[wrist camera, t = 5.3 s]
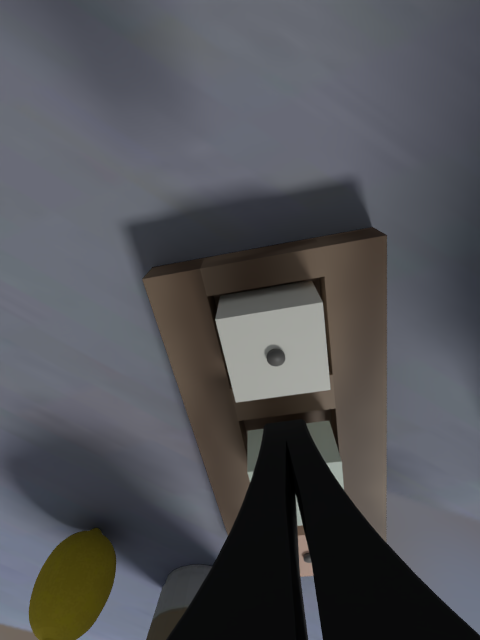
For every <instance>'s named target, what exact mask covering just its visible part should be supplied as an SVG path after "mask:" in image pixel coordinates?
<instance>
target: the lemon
mask: <svg viewBox="0 0 480 640" xmlns="http://www.w3.org/2000/svg"><path fill="white" fill-rule="evenodd" d="M115 572H116V555H115V551H114V548H113V545H112V544H111V542H110V541H109V539H108V538H107V537H105V536H104V535H103V534H102V532H101V530H100V529H98V528H94V529H92V530H90V531H82V532H78V533H75V534H73V535H71V536H69V537H68V538H66V539H65V540H64V541H62V542H61V543H60V544H59V545H58V546H57V547H56V548H55V549H54V550H53V552H52V553H51V554H50V556H49V557H48V559H47V560H46V562H45V563H44V565H43V567H42V569H41V571H40V573H39V575H38V577H37V580H36V582H35V585H34V588H33V591H32V595H31V600H30V606H29V621H30V625H31V628H32V630H33V633H34V634H35V636H36V637H37V638H38V639H39V640H76V639H78V638H79V637H81V636H82V635H83V634H84V633H86V632H87V631H88V630H89V629H90V628H91V626H92V625H93V624H94V622H95V621H96V619H97V618H98V616H99V615H100V613H101V611H102V609H103V607H104V605H105V603H106V601H107V599H108V597H109V595H110V592H111V589H112V586H113V583H114V578H115Z"/></svg>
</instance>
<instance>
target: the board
mask: <svg viewBox="0 0 480 640" xmlns="http://www.w3.org/2000/svg"><path fill="white" fill-rule="evenodd" d="M142 280H143V283H144V286H145V289H146V292H147V295H148V298H149V301H150V304H151V307H152V310H153V313H154V316H155V319H156V322H157V325H158V328H159V331H160V334H161V337H162V340H163V342H164V345H165V348H166V351H167V354H168V357H169V360H170V363H171V366H172V369H173V372H174V375H175V378H176V381H177V384H178V387H179V390H180V393H181V396H182V399H183V402H184V405H185V408H186V411H187V414H188V417H189V420H190V423H191V426H192V429H193V432H194V435H195V438H196V441H197V444H198V447H199V450H200V453H201V456H202V459H203V462H204V465H205V468H206V471H207V474H208V477H209V480H210V483H211V486H212V489H213V492H214V495H215V498H216V501H217V504H218V507H219V510H220V513H221V516H222V519H223V522H224V525H225V528H226V531H227V534H228V535H229V533H230V531H231V529H232V526H233V524H234V522H235V520H236V518H237V515H238V513H239V511H240V508H241V506H242V503H243V501H244V498H245V495H246V492H247V490H248V487H249V484H250V480H249V476H248V473H247V444H248V431H249V430H257V429H263V428H264V426H265V425H266V424H267V423H275V422H283V421H291V420H299V419H302V420H304V421H305V422H306V423H313V422H321V421H330V424H331V428H332V431H333V434H334V438H335V441H336V444H337V448H338V451H339V454H340V457H341V461H342V471H343V483H344V491H345V492H346V494H347V495H348V496H349V498H350V499H351V500H352V502H353V503H354V504H355V506H356V507H357V508H358V510H359V511H360V512H361V513H362V515H363V516H364V517H365V518H366V520H367V521H368V522H369V523H370V524H371V526H372V527H373V528H374V529H375V530H376V532H377V533H378V534H379V535H380V536H381V537H382V539H383V540H384V541H385V542H386V433H387V235H385V234H384V233H382V232H380V231H378V230H377V229H375V228H373V227H371V228H365V229H360V230H354V231H349V232H343V233H338V234H332V235H327V236H321V237H316V238H310V239H305V240H299V241H294V242H288V243H283V244H277V245H272V246H267V247H261V248H256V249H250V250H245V251H239V252H234V253H228V254H223V255H217V256H212V257H206V258H201V259H195V260H190V261H184V262H179V263H173V264H168V265H162V266H157V267H152V269H151V270H150V271H149V272H148V273H147V274H146V275H145V277H144V278H143V279H142ZM310 280H312V282H313V284H314V286H315V288H316V290H317V292H318V294H319V296H320V298H321V300H322V302H323V310H324V322H325V333H326V344H327V355H328V366H329V378H330V389H331V390H326V391H318V392H311V393H304V394H296V395H289V396H281V397H274V398H266V399H259V400H252V401H244V402H237V403H236V401H235V397H234V393H233V389H232V385H231V381H230V377H229V373H228V369H227V365H226V361H225V357H224V353H223V349H222V345H221V341H220V337H219V333H218V329H217V325H216V321H215V318H216V313H217V309H218V304H219V299H220V296H221V295H227V294H233V293H239V292H245V291H251V290H256V289H262V288H268V287H274V286H280V285H286V284H292V283H298V282H304V281H310Z"/></svg>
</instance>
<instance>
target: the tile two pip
mask: <svg viewBox="0 0 480 640" xmlns="http://www.w3.org/2000/svg"><path fill="white" fill-rule="evenodd" d="M306 425H307V428H308V430H309V432H310V435H311V437H312V439H313V441H314V443H315V445H316V447H317V448H318V450H319V452H320V454H321V456H322V457H323V459H324V461H325V462H326V464H327V465H328V467H329V469H330V470H331V472H332V473H333V475H334V476H335V478H336V479H337V481H338V482H339V484H340V485H341V487H342V488H343V489H344V483H343V471H342V461H341V457H340V454H339V451H338V448H337V444H336V441H335V438H334V434H333V431H332V428H331V424H330V421H321V422H313V423H306ZM262 436H263V429H257V430H249V431H248V444H247V473H248V476H249V480H250V481H251V478H252V475H253V472H254V469H255V465H256V462H257V459H258V455H259V451H260V447H261V442H262ZM296 510H297V526H301V525H303V524H302V519H301V515H300V511H299V506H298V502H297V498H296Z"/></svg>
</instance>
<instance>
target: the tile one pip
mask: <svg viewBox="0 0 480 640" xmlns="http://www.w3.org/2000/svg"><path fill="white" fill-rule="evenodd" d="M215 321H216V325H217V329H218V333H219V337H220V341H221V345H222V349H223V353H224V357H225V361H226V365H227V369H228V373H229V377H230V381H231V385H232V389H233V393H234V397H235V401H236V403H237V402H244V401H252V400H259V399H266V398H274V397H281V396H289V395H296V394H304V393H311V392H318V391H326V390H331V389H330V378H329V366H328V355H327V344H326V333H325V322H324V310H323V302H322V300H321V298H320V296H319V294H318V292H317V290H316V288H315V286H314V284H313V282H312V280H310V281H304V282H298V283H292V284H286V285H280V286H274V287H268V288H262V289H256V290H251V291H245V292H239V293H233V294H227V295H221V296H220V299H219V304H218V309H217V313H216V318H215Z"/></svg>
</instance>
